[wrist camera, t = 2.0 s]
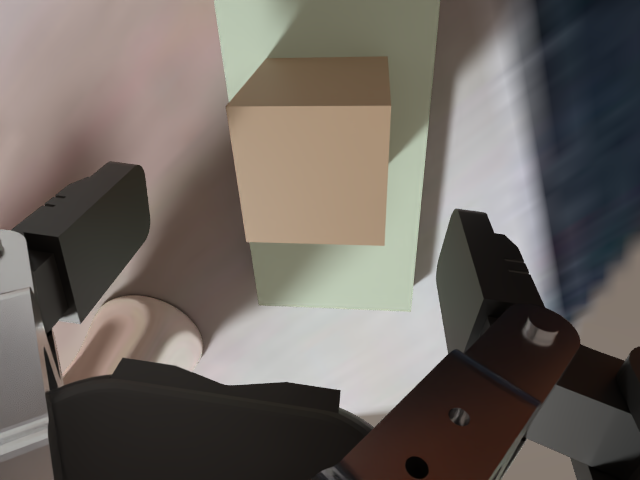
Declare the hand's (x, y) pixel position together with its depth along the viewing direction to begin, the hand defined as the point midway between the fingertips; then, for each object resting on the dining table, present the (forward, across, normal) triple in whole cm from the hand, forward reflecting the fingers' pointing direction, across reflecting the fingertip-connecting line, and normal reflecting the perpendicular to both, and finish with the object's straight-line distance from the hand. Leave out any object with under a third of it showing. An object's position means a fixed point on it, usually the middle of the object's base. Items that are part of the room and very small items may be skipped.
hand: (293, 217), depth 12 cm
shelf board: (+8, 0, -1) cm, 8 cm away
